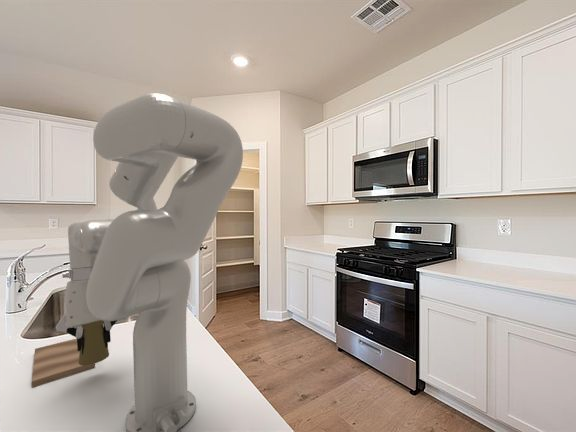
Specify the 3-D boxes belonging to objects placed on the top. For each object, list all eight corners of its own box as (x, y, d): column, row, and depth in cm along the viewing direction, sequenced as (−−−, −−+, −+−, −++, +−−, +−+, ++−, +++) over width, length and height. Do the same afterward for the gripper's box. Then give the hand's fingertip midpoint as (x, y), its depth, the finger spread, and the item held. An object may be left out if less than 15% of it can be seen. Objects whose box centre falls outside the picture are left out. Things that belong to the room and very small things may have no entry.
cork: (93, 366, 62) (90, 317, 62) (71, 364, 64) (68, 317, 64) (115, 352, 68) (112, 308, 68) (94, 351, 70) (92, 308, 70)
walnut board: (95, 367, 71) (94, 361, 71) (31, 387, 63) (31, 381, 63) (87, 340, 86) (86, 335, 86) (35, 353, 79) (35, 348, 79)
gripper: (43, 282, 58) (48, 369, 58) (132, 269, 69) (136, 342, 69) (44, 277, 64) (48, 357, 64) (126, 266, 74) (130, 333, 74)
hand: (94, 348), depth 66 cm, fingers closed on cork, 3 cm apart
